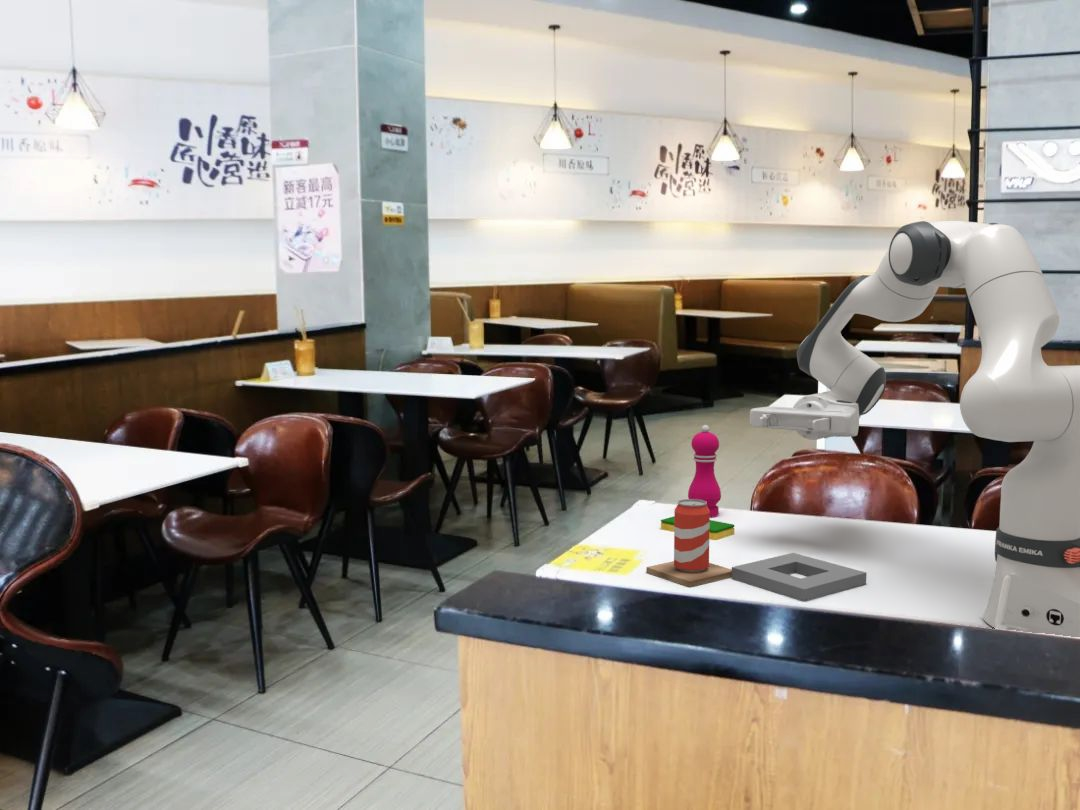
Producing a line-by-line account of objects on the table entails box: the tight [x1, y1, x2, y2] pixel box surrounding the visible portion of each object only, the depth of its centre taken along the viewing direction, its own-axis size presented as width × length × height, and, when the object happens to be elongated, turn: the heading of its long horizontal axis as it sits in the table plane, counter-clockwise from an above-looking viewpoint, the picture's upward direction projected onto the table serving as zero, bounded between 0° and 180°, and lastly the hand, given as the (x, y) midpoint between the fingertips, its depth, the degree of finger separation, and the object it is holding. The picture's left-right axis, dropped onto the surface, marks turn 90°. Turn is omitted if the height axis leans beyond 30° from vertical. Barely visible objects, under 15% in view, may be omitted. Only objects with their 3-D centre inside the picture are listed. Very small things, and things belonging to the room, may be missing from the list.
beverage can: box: [673, 498, 711, 573], centre depth 182 cm, size 6×6×12 cm
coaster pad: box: [645, 560, 732, 588], centre depth 182 cm, size 11×11×1 cm
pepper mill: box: [687, 424, 722, 518], centre depth 227 cm, size 7×7×20 cm
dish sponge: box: [660, 515, 735, 541], centre depth 213 cm, size 7×14×2 cm, turn 46°
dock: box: [730, 552, 867, 602], centre depth 178 cm, size 16×16×2 cm
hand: (786, 423), depth 192 cm, fingers open, 8 cm apart
